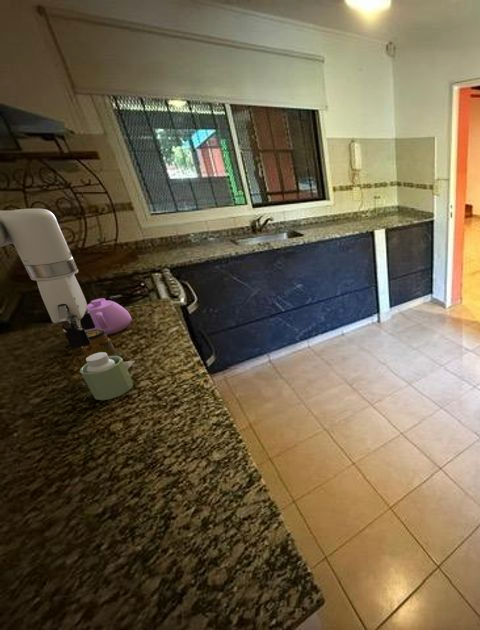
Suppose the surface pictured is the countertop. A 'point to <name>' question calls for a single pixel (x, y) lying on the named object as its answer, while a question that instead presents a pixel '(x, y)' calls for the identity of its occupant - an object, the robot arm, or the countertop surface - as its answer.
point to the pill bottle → (99, 362)
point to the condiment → (101, 345)
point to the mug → (108, 380)
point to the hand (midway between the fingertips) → (84, 337)
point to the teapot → (108, 316)
